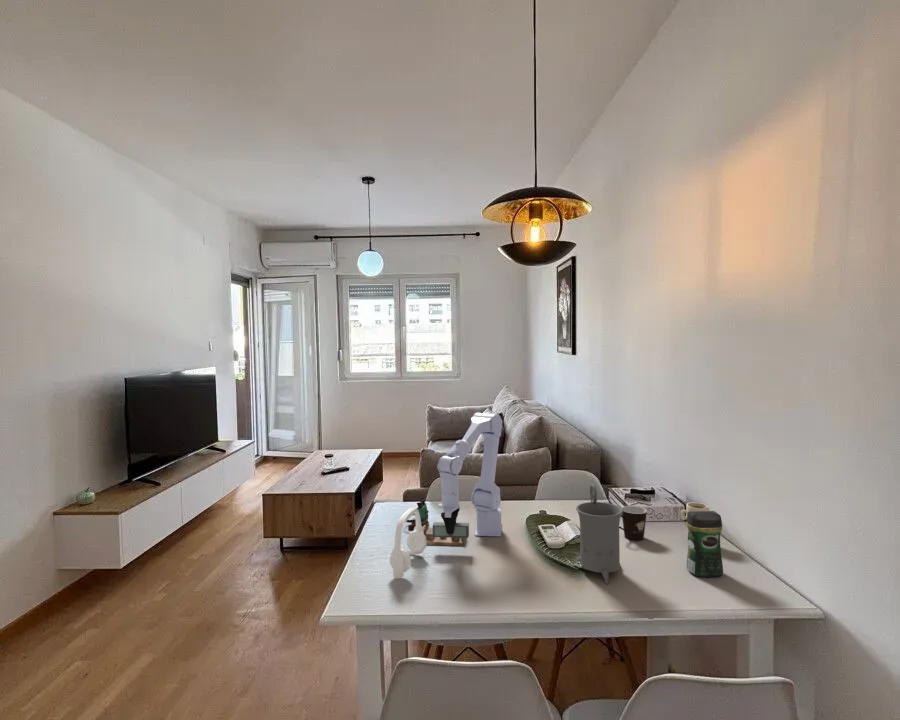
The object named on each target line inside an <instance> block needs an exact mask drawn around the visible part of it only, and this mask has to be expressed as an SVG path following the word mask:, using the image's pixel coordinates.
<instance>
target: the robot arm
mask: <svg viewBox="0 0 900 720" xmlns="http://www.w3.org/2000/svg"><path fill="white" fill-rule="evenodd" d="M502 429H503V419H502V418H501V416H500V415H499V414H498V413H486V412H485V413H483V412H482V413H481V412H478V411H477V412H474V414H473V415H472V417H471V418H470V426H469V427H468V429H467V431H466V432H465V434H464V436H463V437H462V439H458V440H456V441H455V443H454V444H453V446H451V448H450V449H449V451H448V452H447V453H446V455H443V456H442V457H440V458H438V462H437V465H436V467H437V470H438V472H439V477H440V478H441V479H440V480H441V482H440V483H441V485H440V486H441V503H438V505H437V506H438V508H441V509H442V511H443V512H441V513H440V517H441V518H442V520H443V521H442V522H444V523H445V527H446V532H447V534H453V533H454V528H455V523H457V518H458V516H459V512H460V510H461V507H460V503H459V502H460V498H459V494H460V493H459V489H460V488H459V474H460V472H461V471H462V467H463V464H464V460H465V459H466V457H467V456H468V455H469V453H470V452H471V445H472V444H473V443H474V442H475V441H476V440H477V438H478V437H479V436H480V435H482V438H484V445H483V454H482V462H481V471H480V478H479V479H480V480H479V482H477V483H476V484H474V485H473V490H472V492H471V496H470V500H471V504H472V505H473V506H474V509H475V510H476V511H475V512H476V518H475V519H476V527H475V533H474V536H475V537H477V536H478V537H502V530H503V523H502V508H499V507H500V505H501V502H502V501H501V497H502V496H501V489H500V487H499V486H498V485H497V484H496V483H495V481H496V480H495V479H496V471H497V462H498V461H497V460H498V454H499V453H498V451H499V445H500V444H499V443H500V437H502Z"/></svg>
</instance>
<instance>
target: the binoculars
mask: <svg viewBox="0 0 900 720" xmlns="http://www.w3.org/2000/svg"><path fill="white" fill-rule="evenodd" d="M416 505H417V507H415V508H416V509H418V511H419V514H420V519H421V525H422V527H423V525H426V527H428V526H429V525H430V522H429V521H428V520H429V510H428V506H427V503H426V498H425V497H420V498H419V502H416ZM412 516H415V514H413V515H412ZM405 523H411V524H408V525H407V526H408V527H407V528H408V530H412V529H413V530H414V527H415V526H416V521H415V517H413V519H408V520H407V521H406V522H405Z"/></svg>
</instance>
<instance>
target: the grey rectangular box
mask: <svg viewBox="0 0 900 720" xmlns="http://www.w3.org/2000/svg"><path fill="white" fill-rule="evenodd" d="M432 528H433V537H452V538H466V539H468V538H469V536H470V523H469V522H456V523H455V528H454V533H453V534H447V532H446V527H445V523H444V521H442V522H441V521H440V522H439V521H437V522H436V521H434V522H433V524H432Z"/></svg>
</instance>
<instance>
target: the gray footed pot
mask: <svg viewBox="0 0 900 720" xmlns="http://www.w3.org/2000/svg"><path fill="white" fill-rule="evenodd" d="M597 493H598V492H597V487H596V485H595V483H592V484H590V486H589V498H590V501H588V502H582V503H579V504H577V506H576V507H575V510H576V511H577V512H576V513H578V518H579V542H580V545H579V547H580V550H579V552H580V555H579V556H578V557H576V559H575V561H576V560H577V561H580V566H581V567H583V568H584V569H586V570H587V571H591V572H594V573H601V575H602V577H603V580H604V582H605V584H606V585H609V584H610V583H609V579H610V578H609V577H610V576H609V574H610V573H613V572H616V571H618V570H619V569H620V566H621V563H620V555H621V554H620V552H621V551H620V528H619V526H620V523H621V522H620V521H621V518H622V517H621V515H622V513H623V510H622V509H621V508H622V507H620V506H618V505H616V504H614V503H609V502H603V501H602V502H600V501H597V500H598V494H597Z"/></svg>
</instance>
